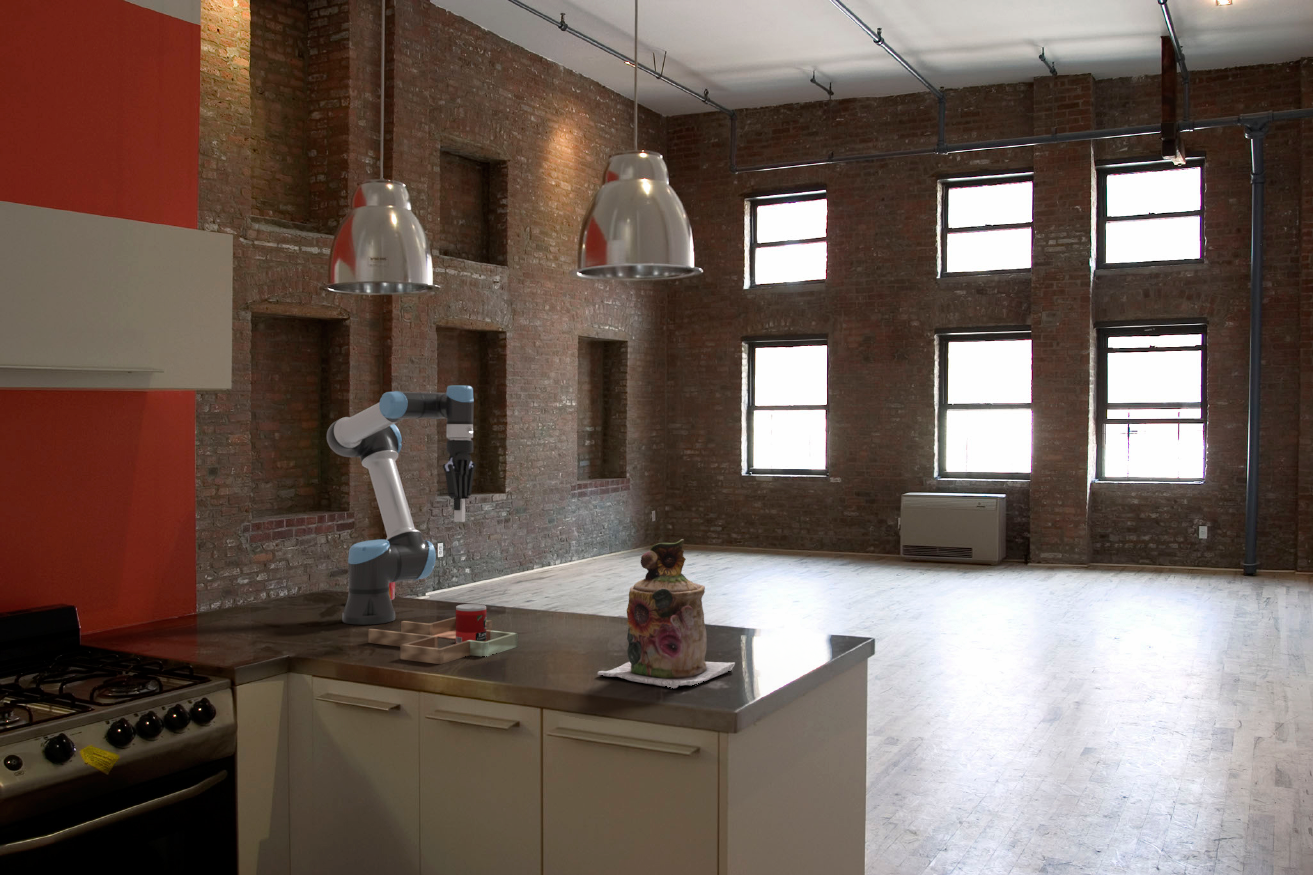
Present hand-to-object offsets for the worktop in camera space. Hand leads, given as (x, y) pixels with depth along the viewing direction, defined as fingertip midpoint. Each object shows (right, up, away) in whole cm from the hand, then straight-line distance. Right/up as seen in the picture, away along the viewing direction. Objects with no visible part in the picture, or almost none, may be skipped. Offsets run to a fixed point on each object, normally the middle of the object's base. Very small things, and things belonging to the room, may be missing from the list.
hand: (459, 521), depth 316 cm
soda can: (-33, -30, +46) cm, 64 cm away
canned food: (+8, -31, -29) cm, 43 cm away
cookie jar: (+59, -32, -57) cm, 88 cm away
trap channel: (-1, -31, -24) cm, 39 cm away
